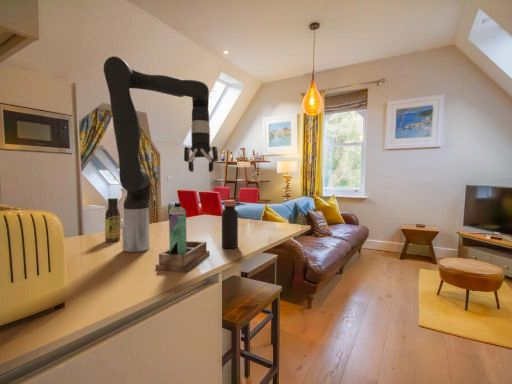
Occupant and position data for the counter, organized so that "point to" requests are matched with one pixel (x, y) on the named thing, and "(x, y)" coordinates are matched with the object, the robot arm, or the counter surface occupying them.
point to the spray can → (177, 230)
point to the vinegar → (229, 225)
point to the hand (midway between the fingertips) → (201, 171)
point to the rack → (183, 258)
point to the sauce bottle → (112, 221)
